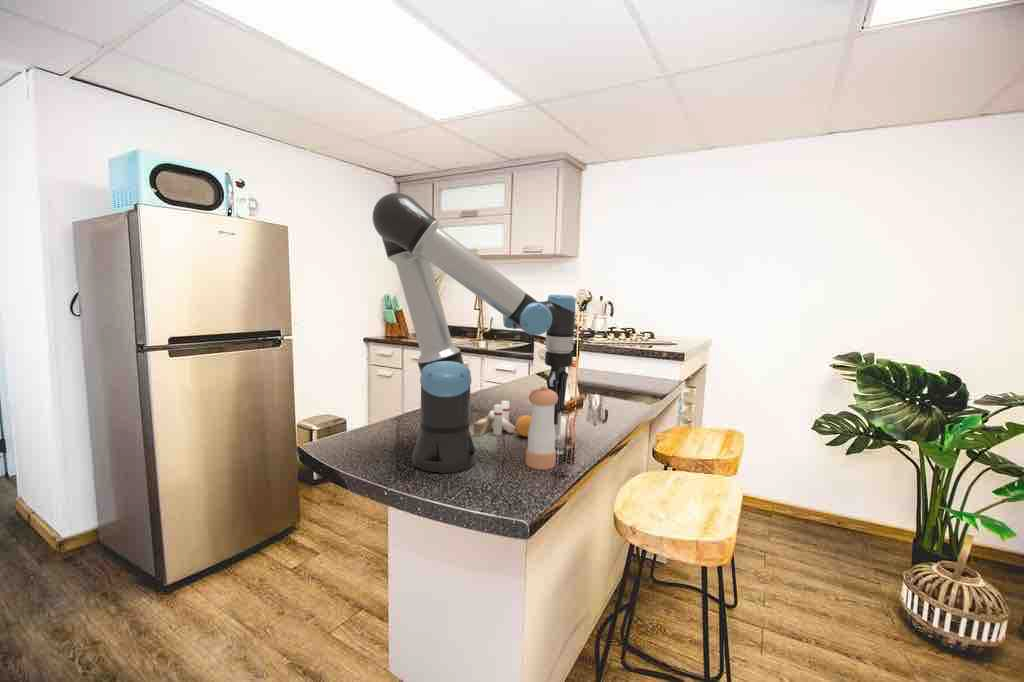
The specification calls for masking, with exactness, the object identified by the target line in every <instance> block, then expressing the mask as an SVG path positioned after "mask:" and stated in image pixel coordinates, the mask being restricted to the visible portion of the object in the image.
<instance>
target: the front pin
mask: <svg viewBox="0 0 1024 682" xmlns="http://www.w3.org/2000/svg"><path fill="white" fill-rule="evenodd" d="M486 416H487V417H489V418H490V419H491V420H492V421H494V409H492V410H490V411H489V413H488V414H487V415H486ZM502 428H504V429H505V430H506V431H507V433H509V434H513V432H514V430H516V425H513V424H512V423H511V422H510V421H509V422H508V421H507V420H505V419H504V418H503V417H502ZM506 431H505V432H506Z"/></svg>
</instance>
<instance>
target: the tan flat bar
mask: <svg viewBox="0 0 1024 682" xmlns="http://www.w3.org/2000/svg"><path fill="white" fill-rule="evenodd" d="M487 416H488V415H486V416H484V417H482V418H481V419H479V420H477V421H476V422H474V423H473V434H472V435H473V436H475V437H479V438H480V437H481V436H483V435H485V433H487V432H489V431H491V430H492V429H493V428H494V421H492V420H491V419H490V418H489V417H487Z"/></svg>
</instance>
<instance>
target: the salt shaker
mask: <svg viewBox="0 0 1024 682" xmlns="http://www.w3.org/2000/svg"><path fill="white" fill-rule="evenodd" d="M528 400H529V402H530V403H531V413H530V414H531V415H530V416H531V423H530V428H529V433H528V436H527V447H526V449H525V465H526V467H529V468H531V469H535V470H541V471H542V470H550V469H553V468H555V466H556V458H557V450H556V449H555V448H556V447H555V446H556V436H557V435H555V427H554V407H555V404H556V403H557V401H558V395H557V394H556V392H554V391H552V390H550V389H548V387H547V386H544V385H543V386H541V387H540V388H537V389H534V390H531V392H530V393H529V394H528Z"/></svg>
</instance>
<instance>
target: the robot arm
mask: <svg viewBox="0 0 1024 682" xmlns="http://www.w3.org/2000/svg"><path fill="white" fill-rule="evenodd" d="M372 224H373V226H374V228H375V229H374V230H376V232H377V234H378V235H379V236H380V237H381V240H382V242H383V246H384V249H385V253H386V255H387V260H389V261H390V262H392V263H394V264H395V265H396V266H395V267H396V269H397V273H398V276H399V280H400V285H401V288H402V290H403V294H404V298H405V301H406V305H407V308H408V312H409V316H410V319H411V322H412V325H413V330H414V333H415V336H416V340H417V344H418V347H419V351H420V355H419V357H418V359H417V365H418V366H417V367H418V369H419V373H420V378H419V383H420V420H419V421H420V422H419V423H420V426H419V427H420V429H419V433H418V435H417V439H416V442H415V445H414V448H413V449H412V450H413V451H412V460H411V462H413V463H412V465H413V464H414V465H415V466H416V467H418V468H420V469H422V470H421V471H423V470H426V471H425V472H427V471H431V472H430V473H432V472H439V473H438V474H451V473H452V474H453V473H459V472H462V471H466V470H468V469H470V468H472V467H473V466H474V465H475V464H476V460H477V458H476V457H477V452H476V448H475V445H474V441H473V437H472V435H471V431H470V414H471V412H470V411H471V384H472V375H471V370H470V367H468V366H467V365H466V364H464V363H465V362H464V360H463V356H462V352H461V349H460V348H458V347H457V346H455V345H454V344H453V340H452V337H451V333H450V330H449V326H448V322H447V319H446V315H445V311H444V308H443V304H442V301H441V296H440V292H439V288H438V285H437V282H436V277H435V274H434V271H433V266H432V265H434V266H436V268H438V269H439V270H441V271H442V272H444V274H446V275H448V276H449V277H451V278H452V279H453V280H455V281H456V282H457V283H459V285H462V287H464V288H466V289H467V290H468V291H470V292H471V293H472V294H474V295H475V296H476V297H478V298H480V299H481V300H482V301H483V302H485V303H486V304H487V305H489V306H490V307H491V308H493V309H494V310H496V311H497V312H499V313H500V314H501V315H502V320H503V321H502V323H503V326H504V327H505V328H506V329H514V330H518V329H519V330H522V331H524V332H525V333H527V335H530V336H540V335H543V334H545V333H546V335H545V350H546V352H545V353H544V357H545V358H544V363H545V365H546V366H547V367H550V372H549V373H548V379H546V387H547V389H550V390H552V391H554V392H556V394H557V395H558V401H557V403H556V404H555V407H554V427H555V436H557V437H558V436H559V437H560V435H561V429H562V412H565V410H566V409H565V408H564V407H565V399H566V392H567V383H568V378H569V373H568V372H567V369H566V368H570V367H572V366H573V359H574V358H573V356H574V354H573V352H572V351H573V350H574V344H576V340H575V339H574V335H575V321H576V298H575V297H574V296H573V295H570V294H549V295H548V296H547V299H546V300H545V301H537V300H536V299H535V298H533V297H532V296H531V295H529V294H528V293H526V292H525V291H524V290H523V289H522V288H520V287H519V286H518V285H517V284H515V283H513V282H512V281H511V280H510V279H508V278H507V277H506V276H504V274H502V273H501V272H499V271H498V270H497V269H495V268H494V267H493V266H492V265H490V264H488V263H487V262H486V261H485V260H483V259H482V258H481V257H479V256H478V255H476V253H474V252H473V251H471V250H470V249H468V248H467V246H465V245H464V244H462V243H461V242H459V241H458V240H457V239H455V237H453V236H452V235H450V234H449V233H448V232H446V231H445V230H444V229H443V228H441V227H440V224H439V221H438V219H436V218H435V217H434V216H432V215H431V214H430V213H429V212H427V210H425V209H424V207H422V206H421V205H420V204H419V202H417V201H416V200H415V199H414V198H413V197H412V196H410V195H407V194H405V193H402V192H401V193H400V192H392V193H388V194H385V195H384V196H382V197H380V199H379V200H378V201H377V202H376V204H375V206H374V207H373V210H372ZM414 465H413V466H414ZM415 466H414V467H415ZM416 467H415V468H416ZM418 468H417V469H418ZM420 469H419V470H420Z"/></svg>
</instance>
